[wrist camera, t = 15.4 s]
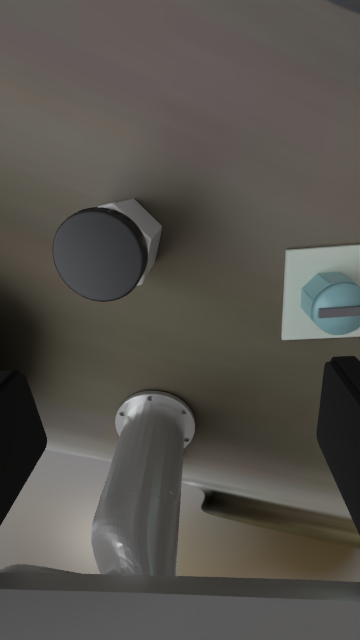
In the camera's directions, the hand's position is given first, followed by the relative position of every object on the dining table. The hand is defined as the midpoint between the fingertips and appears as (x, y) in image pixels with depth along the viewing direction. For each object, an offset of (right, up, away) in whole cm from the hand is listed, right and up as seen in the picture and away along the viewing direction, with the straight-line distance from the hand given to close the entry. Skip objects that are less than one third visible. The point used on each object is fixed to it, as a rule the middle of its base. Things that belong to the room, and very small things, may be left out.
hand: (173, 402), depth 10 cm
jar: (-6, +13, +28) cm, 32 cm away
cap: (+18, +6, +29) cm, 35 cm away
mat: (+18, +6, +29) cm, 35 cm away
